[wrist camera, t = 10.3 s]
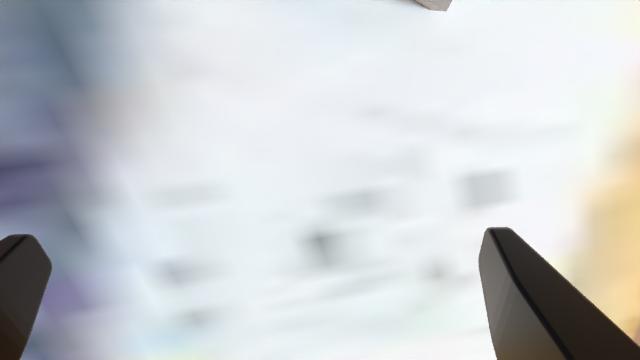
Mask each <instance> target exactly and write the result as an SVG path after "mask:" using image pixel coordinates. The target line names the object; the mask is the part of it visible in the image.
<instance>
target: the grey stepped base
mask: <svg viewBox="0 0 640 360" xmlns="http://www.w3.org/2000/svg"><path fill="white" fill-rule="evenodd" d="M415 1H416V2H418V3H420V4H421V5H423V6H425V7H427V8H428V9H430V10H436V11H447V9H448V7H449V5H450V4H451V2H452V0H415Z"/></svg>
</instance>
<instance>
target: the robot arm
mask: <svg viewBox="0 0 640 360" xmlns="http://www.w3.org/2000/svg"><path fill="white" fill-rule="evenodd" d="M51 271H52V263H51V260H50V258H49V257H48V255H47V254H46V252H45V251H44V249H43V248H42V246H41V245H40V243H39V241H38V240H37V239H36V237H34V236H33V235H30V234H14V235H10V236H7V237H6V238H4V239H3V240H1V241H0V360H20V358H21V356H22V354H23V351H24V349H25V347H26V344H27V342H28V339H29V337H30V334H31V331H32V328H33V325H34V322H35V319H36V316H37V313H38V310H39V307H40V304H41V301H42V298H43V295H44V292H45V289H46V286H47V283H48V280H49V277H50V274H51ZM479 271H480V276H481V282H482V288H483V294H484V299H485V305H486V311H487V316H488V322H489V328H490V333H491V338H492V343H493V346H494V350H495V354H496V357H497V360H640V346H639V345H637V344H636V343H635V342H634V341H633V340H632V339H631V338H630V337H629V336H628V335H627V334H626V333H624V332H623V331H622V330H621V329H620V328H619V327H618V326H617V325H616V324H615V323H614V322H612V321H611V320H610V319H609V318H608V317H607V316H606V315H605V314H604V313H603V312H602V311H600V310H599V309H598V308H597V307H596V306H595V305H594V304H593V303H592V302H591V301H589V300H588V299H587V298H586V297H585V296H584V295H583V294H582V293H581V292H580V291H579V290H577V289H576V288H575V287H574V286H573V285H572V284H571V283H570V282H569V281H568V280H567V279H565V278H564V277H563V276H562V275H561V274H560V273H559V272H558V271H557V270H556V269H555V268H553V267H552V266H551V265H550V264H549V263H548V262H547V261H546V260H545V259H544V258H543V257H541V256H540V255H539V254H538V253H537V252H536V251H535V250H534V249H533V248H532V247H531V246H529V245H528V244H527V243H526V242H525V241H524V240H523V239H522V238H521V237H520V236H519V235H517V234H516V233H515V232H514V231H513V230H512V229H510V228H508V227H490V228H487V229H486V231H485V233H484V237H483V241H482V245H481V250H480V254H479Z"/></svg>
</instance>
